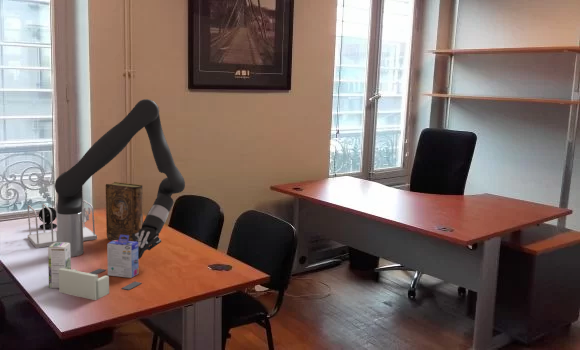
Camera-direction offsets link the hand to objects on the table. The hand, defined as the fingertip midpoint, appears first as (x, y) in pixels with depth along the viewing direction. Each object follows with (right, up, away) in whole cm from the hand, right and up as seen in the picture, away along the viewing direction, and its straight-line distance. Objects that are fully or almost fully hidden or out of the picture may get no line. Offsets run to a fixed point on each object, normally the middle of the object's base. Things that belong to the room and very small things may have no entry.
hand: (136, 257), depth 208 cm
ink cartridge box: (-3, -5, -6) cm, 9 cm away
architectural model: (-38, +7, +66) cm, 77 cm away
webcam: (-56, +6, +53) cm, 77 cm away
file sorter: (-42, +3, +36) cm, 55 cm away
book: (-15, +2, +36) cm, 39 cm away
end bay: (-10, -8, -24) cm, 27 cm away
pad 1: (-13, -5, -5) cm, 15 cm away
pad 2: (+3, -7, -17) cm, 19 cm away
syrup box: (-21, -7, -18) cm, 29 cm away
